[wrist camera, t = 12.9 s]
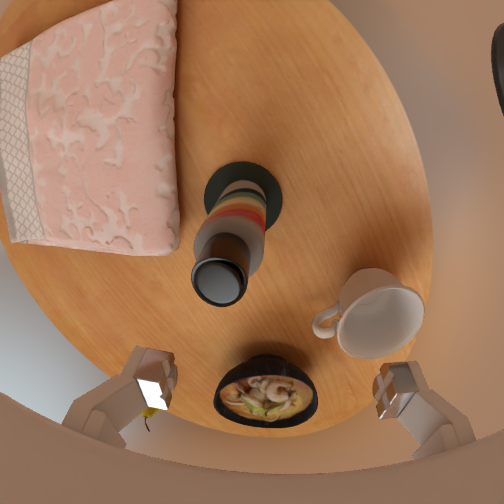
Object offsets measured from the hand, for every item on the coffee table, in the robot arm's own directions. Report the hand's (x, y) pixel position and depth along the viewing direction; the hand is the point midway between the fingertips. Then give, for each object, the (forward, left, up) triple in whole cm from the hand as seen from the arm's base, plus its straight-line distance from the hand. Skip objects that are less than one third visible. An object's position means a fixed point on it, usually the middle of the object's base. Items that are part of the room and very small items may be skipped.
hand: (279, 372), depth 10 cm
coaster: (+2, -4, -29) cm, 29 cm away
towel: (-9, -29, -29) cm, 42 cm away
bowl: (+33, +1, -29) cm, 43 cm away
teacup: (+14, +13, -29) cm, 34 cm away
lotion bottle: (+2, -4, -28) cm, 29 cm away
